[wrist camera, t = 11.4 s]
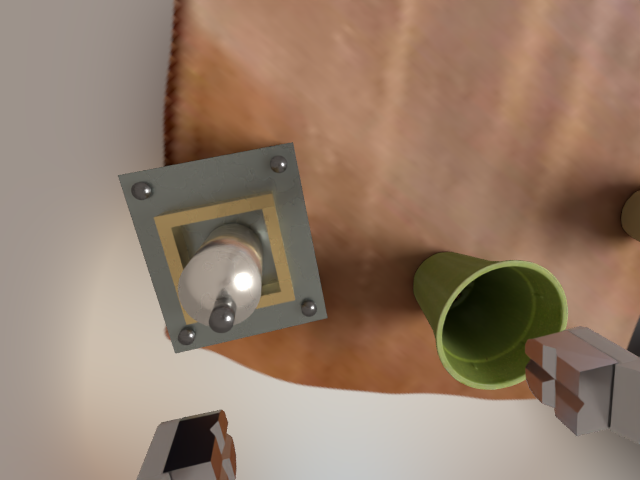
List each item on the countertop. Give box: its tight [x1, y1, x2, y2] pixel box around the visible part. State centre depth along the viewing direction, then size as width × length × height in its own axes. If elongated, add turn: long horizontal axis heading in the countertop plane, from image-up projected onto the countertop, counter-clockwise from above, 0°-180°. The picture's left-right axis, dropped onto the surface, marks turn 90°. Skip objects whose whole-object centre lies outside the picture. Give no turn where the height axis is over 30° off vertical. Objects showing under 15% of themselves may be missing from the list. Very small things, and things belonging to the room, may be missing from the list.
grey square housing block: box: [118, 142, 327, 353], centre depth 33 cm, size 16×14×8 cm
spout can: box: [178, 224, 263, 333], centre depth 26 cm, size 5×5×11 cm
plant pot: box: [413, 252, 568, 390], centre depth 36 cm, size 12×12×11 cm
